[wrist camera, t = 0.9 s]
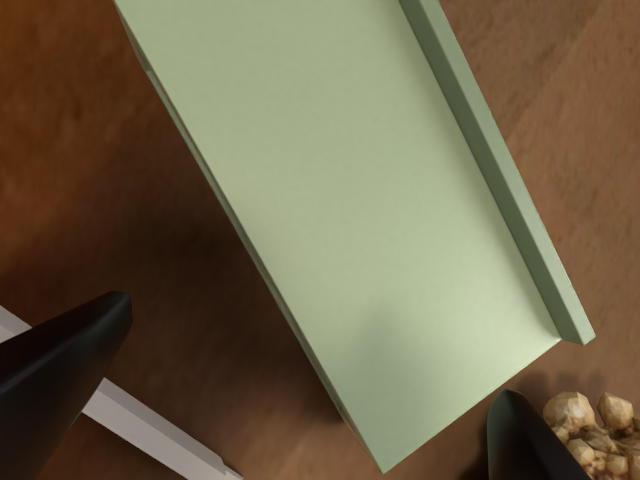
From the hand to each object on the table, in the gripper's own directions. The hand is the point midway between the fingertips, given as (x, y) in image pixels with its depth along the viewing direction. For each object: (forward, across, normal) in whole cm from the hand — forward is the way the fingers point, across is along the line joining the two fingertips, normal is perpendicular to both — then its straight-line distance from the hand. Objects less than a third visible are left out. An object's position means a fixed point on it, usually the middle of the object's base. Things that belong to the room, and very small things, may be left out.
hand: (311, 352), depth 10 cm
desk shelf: (+13, 0, +2) cm, 13 cm away
